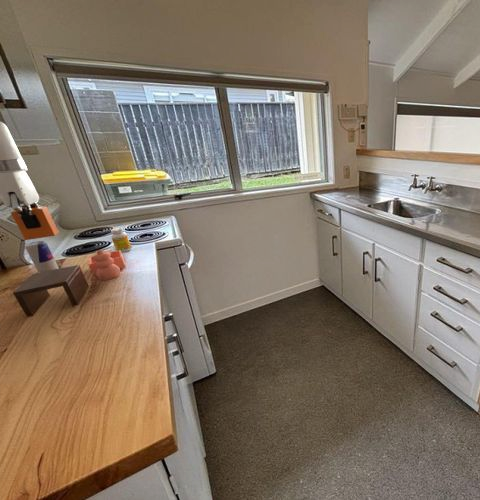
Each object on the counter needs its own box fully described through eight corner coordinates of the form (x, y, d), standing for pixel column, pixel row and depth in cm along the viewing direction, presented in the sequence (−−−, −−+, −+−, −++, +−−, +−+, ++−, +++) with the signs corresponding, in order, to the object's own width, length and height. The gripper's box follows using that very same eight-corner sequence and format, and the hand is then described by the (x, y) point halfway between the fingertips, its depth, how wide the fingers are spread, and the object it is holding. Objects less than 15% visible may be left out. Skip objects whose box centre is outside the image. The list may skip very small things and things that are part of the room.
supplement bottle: (117, 253, 120) (109, 232, 116) (116, 250, 124) (107, 229, 120) (132, 249, 123) (125, 228, 119) (131, 246, 127) (123, 226, 123)
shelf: (27, 317, 79) (12, 292, 75) (44, 296, 89) (32, 273, 86) (78, 304, 83) (66, 281, 80) (89, 286, 94) (79, 264, 91)
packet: (25, 240, 88) (10, 212, 85) (30, 236, 91) (16, 209, 88) (54, 235, 91) (41, 208, 88) (59, 232, 94) (46, 206, 91)
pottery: (93, 266, 108) (83, 243, 104) (124, 259, 114) (115, 236, 110) (92, 284, 95) (80, 257, 91) (126, 275, 101) (116, 249, 97)
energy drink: (62, 271, 105) (47, 242, 101) (43, 278, 101) (26, 247, 96) (57, 269, 108) (42, 239, 103) (38, 274, 104) (22, 244, 99)
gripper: (3, 165, 88) (32, 221, 95) (-29, 170, 74) (8, 235, 81) (36, 163, 91) (61, 217, 98) (11, 167, 78) (43, 230, 85)
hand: (37, 225), depth 90 cm, fingers closed on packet, 4 cm apart
